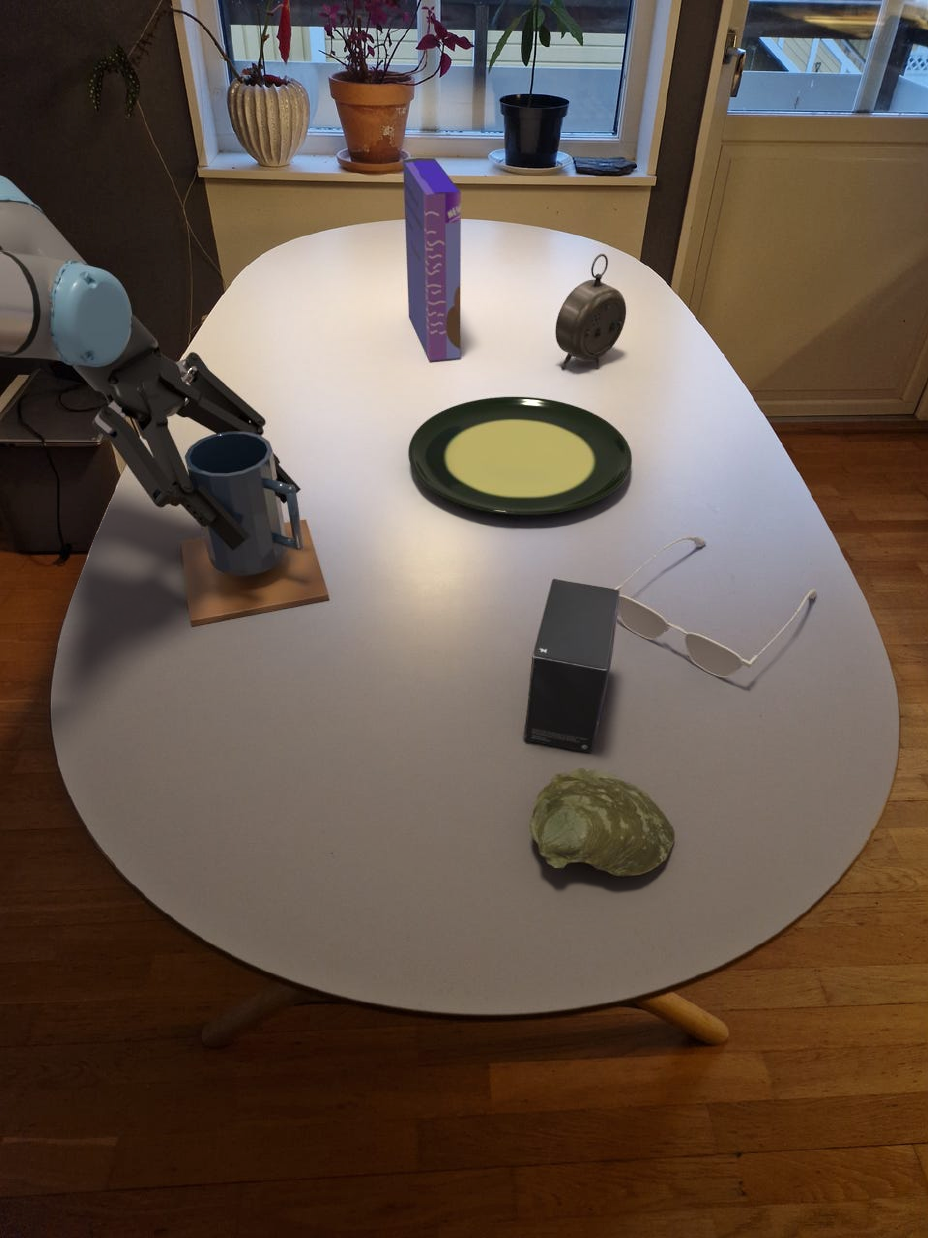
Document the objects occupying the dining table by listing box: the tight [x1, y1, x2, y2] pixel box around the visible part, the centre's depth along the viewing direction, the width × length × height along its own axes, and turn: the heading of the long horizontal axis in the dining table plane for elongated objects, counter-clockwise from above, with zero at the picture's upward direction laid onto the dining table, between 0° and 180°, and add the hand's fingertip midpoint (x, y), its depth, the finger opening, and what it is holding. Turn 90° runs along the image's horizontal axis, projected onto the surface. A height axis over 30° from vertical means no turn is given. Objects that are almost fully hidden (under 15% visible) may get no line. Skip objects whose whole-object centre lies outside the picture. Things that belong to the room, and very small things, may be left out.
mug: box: [184, 431, 304, 576], centre depth 87 cm, size 11×8×12 cm
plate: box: [407, 396, 633, 516], centre depth 109 cm, size 28×28×2 cm
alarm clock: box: [555, 253, 627, 370], centre depth 126 cm, size 11×5×16 cm, turn 129°
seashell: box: [529, 767, 676, 877], centre depth 67 cm, size 10×7×10 cm
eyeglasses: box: [614, 535, 818, 679], centre depth 88 cm, size 15×18×4 cm
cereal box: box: [402, 157, 462, 363], centre depth 130 cm, size 17×5×24 cm, turn 13°
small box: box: [522, 578, 621, 753], centre depth 75 cm, size 11×6×10 cm, turn 167°
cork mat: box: [180, 518, 330, 627], centre depth 93 cm, size 14×14×1 cm
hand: (267, 519), depth 87 cm, fingers closed on mug, 8 cm apart
